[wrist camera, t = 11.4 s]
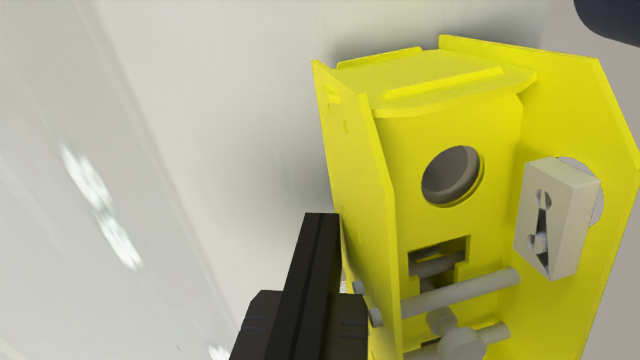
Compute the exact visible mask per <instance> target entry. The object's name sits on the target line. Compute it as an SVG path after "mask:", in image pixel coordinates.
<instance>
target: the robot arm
mask: <svg viewBox="0 0 640 360" xmlns="http://www.w3.org/2000/svg"><path fill="white" fill-rule="evenodd" d="M341 273H342V251H341V234H340V218H339V213H305V216H304V220H303V223H302V227H301V230H300V234H299V237H298V241H297V244H296V247H295V251H294V254H293V258H292V261H291V265H290V268H289V272H288V275H287V279H286V282H285V286H284V289H283V291H274V290H261V291H260V292H259V293H258V294H257V295H256V296H255V297H254V298H253V300H252V301H251V302H250V305H249V307H248V310H247V313H246V315H245V319H244V321H243V323H242V326H241V330H240V331H239V334H238V336H237V339H236V342H235V344H234V347H233V350H232V352H231V355H230V358H229V360H368V307H367V305H366V302H365V300H364V298H363V296H362V294H347V293H339V291H340V282H341Z"/></svg>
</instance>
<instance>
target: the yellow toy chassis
mask: <svg viewBox="0 0 640 360" xmlns="http://www.w3.org/2000/svg"><path fill="white" fill-rule="evenodd" d="M311 63H312V69H313V75H314V82H315V88H316V95H317V101H318V108H319V114H320V120H321V127H322V133H323V140H324V146H325V153H326V159H327V166H328V172H329V178H330V185H331V191H332V198H333V204H334V211H335V213H339V218H340V234H341V251H342V262H343V268H342V273H341V281H344V280H345V281H346V288H347V294H362V296H363V298H364V300H365V302H366V305H367V307H368V360H581V356H582V354H583V351H584V348H585V345H586V342H587V339H588V336H589V333H590V330H591V327H592V324H593V321H594V319H595V316H596V313H597V310H598V307H599V304H600V301H601V298H602V295H603V292H604V289H605V286H606V283H607V281H608V277H609V275H610V272H611V269H612V266H613V263H614V260H615V257H616V254H617V251H618V248H619V245H620V243H621V240H622V237H623V233H624V231H625V228H626V225H627V222H628V219H629V216H630V213H631V210H632V207H633V204H634V201H635V199H636V196H637V193H638V189H639V187H640V152H639V150H638V147H637V145H636V143H635V141H634V138H633V136H632V134H631V132H630V130H629V127H628V125H627V123H626V120H625V118H624V116H623V114H622V111H621V109H620V107H619V105H618V102H617V100H616V98H615V96H614V93H613V91H612V89H611V87H610V84H609V82H608V80H607V78H606V75H605V73H604V71H603V69H602V66H601V64H600V62H599V60H598V58H593V57H586V56H580V55H573V54H567V53H561V52H554V51H548V50H542V49H535V48H529V47H523V46H516V45H510V44H504V43H497V42H491V41H485V40H478V39H472V38H465V37H459V36H453V35H446V34H442V35H439V46H438V49H435V50H424V51H423V50H422V49H421V48H420V47H418V46H416V47H411V48H406V49H401V50H396V51H391V52H386V53H381V54H376V55H371V56H366V57H361V58H357V59H352V60H347V61H342V62H338V64H337V66H336V68H334V69H331V68H329V67H328V66H326V65H325V64H323V63H322V62H320V61H319V60H317V59H316V60H311ZM563 156H566V157H570V158H574V159H577V160H578V161H580V162H581V163H583V164H584V165H586V166H587V167H588V168H589V169H590V170H591V171H592V173H593V174H594V175H595V176H596V177H594V176H592V175H589V174H587V173H585V172H583V171H581V170H579V169H577V168H575V167H573V166H571V165H569V164H567V163H565V162H563V161H561V160H558V159H557V158H559V157H563ZM600 186H601V187H602V192H603V196H604V209H603V213H602V215H601V217H600V219H599V221H598V222H597V223H595V224H594V225H593V226H590V227H589V224H590V220H591V217H592V213H593V209H594V206H595V202H596V199H597V195H598V192H599V188H600ZM549 195H550V196H549Z"/></svg>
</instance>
